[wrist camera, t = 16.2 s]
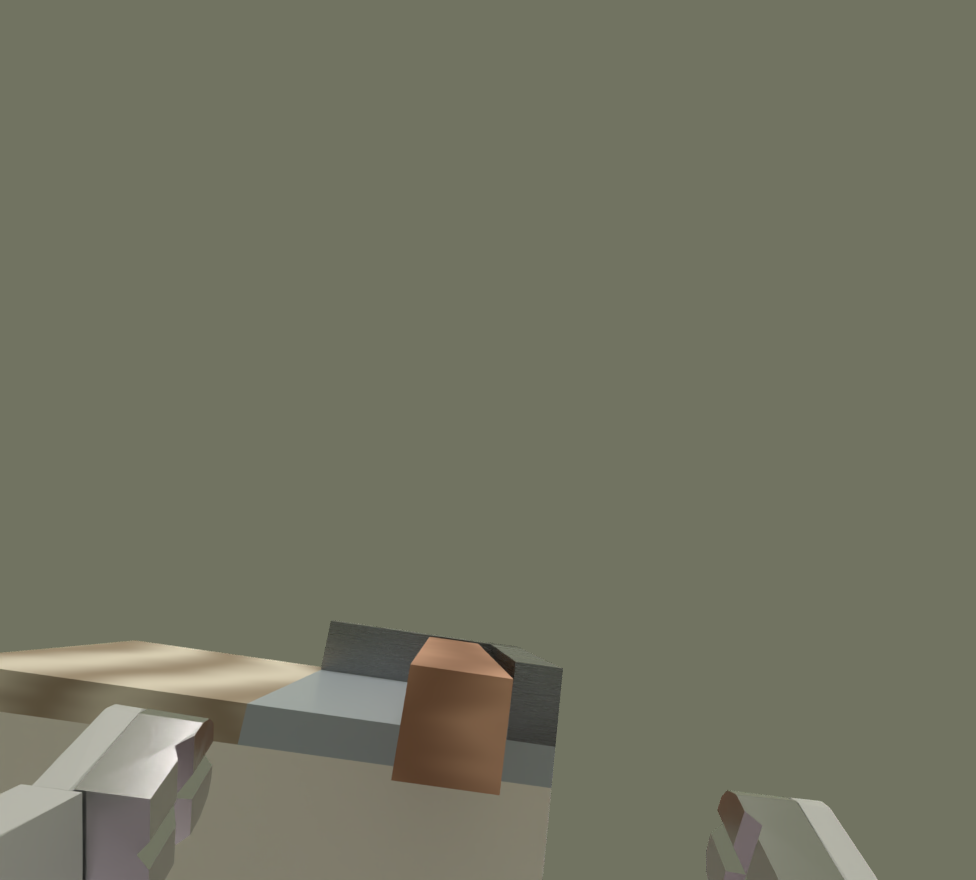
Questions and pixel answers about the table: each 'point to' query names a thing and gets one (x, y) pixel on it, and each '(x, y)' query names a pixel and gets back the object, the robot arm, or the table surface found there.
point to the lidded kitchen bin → (302, 756)
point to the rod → (454, 719)
